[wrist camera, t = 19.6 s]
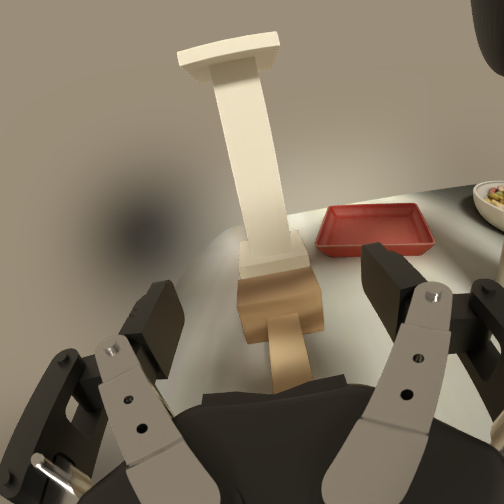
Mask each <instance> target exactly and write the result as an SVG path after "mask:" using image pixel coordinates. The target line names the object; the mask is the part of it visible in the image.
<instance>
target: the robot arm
mask: <svg viewBox="0 0 504 504" xmlns="http://www.w3.org/2000/svg"><path fill="white" fill-rule="evenodd" d="M471 7H472V15H473V22H474V27H475V32H476V36H477V40H478V44H479V47H480V50H481V52H482V55H483V57H484V59H485V61H486V62H487V64H488V65H489V66H490V67H491V69H492V70H493V71H494V72H496V73H497V74H499V75H501V76H503V77H504V0H471ZM361 279H362V286H363V289H364V292H365V294H366V295H367V297H368V299H369V300H370V302H371V304H372V306H373V307H374V309H375V311H376V312H377V314H378V316H379V318H380V319H381V321H382V323H383V325H384V326H385V328H386V330H387V332H388V334H389V335H390V337H391V339H392V341H393V343H394V345H393V348H392V350H391V353H390V355H389V358H388V360H387V363H386V365H385V368H384V370H383V372H382V375H381V377H380V379H379V382H378V384H377V386H376V388H375V387H372V386H368V385H362V384H347V383H346V380H345V376H344V374H342V375H337V376H333V377H328V378H323V379H318V380H313V381H308V382H306V383H303V384H301V385H298V386H296V387H293V388H290V389H288V390H285V391H282V392H279V393H277V394H272V395H268V394H256V393H245V392H226V393H213V394H203V398H202V404H201V405H198V406H195V407H192V408H190V409H187V410H185V411H183V412H182V413H180V414H178V415H177V416H175V415H174V414H173V412H172V411H171V409H170V408H169V406H168V404H167V403H166V401H165V400H164V398H163V397H162V395H161V393H160V392H159V390H158V388H157V387H156V385H155V382H156V379H168V376H169V372H170V369H171V366H172V362H173V359H174V355H175V352H176V349H177V345H178V342H179V339H180V336H181V332H182V329H183V326H184V321H185V318H184V312H183V309H182V306H181V303H180V301H179V298H178V296H177V293H176V291H175V288H174V285H173V283H172V282H171V281H170V280H165V281H160V282H154V283H152V285H151V287H150V288H149V290H148V292H147V294H146V295H144V296H143V297H142V298H141V299H140V300H139V301H137V302H136V304H135V306H134V307H133V309H132V311H131V313H130V314H129V317H128V318H127V320H126V322H125V323H124V325H123V327H122V329H121V330H120V332H119V334H118V335H114V336H111V337H108V338H106V339H105V340H103V341H102V342H101V343H100V344H99V345H98V346H97V348H96V350H95V354H94V355H90V356H87V357H83V358H81V356H80V355H79V353H78V352H77V350H75V349H72V348H70V349H66V350H63V351H61V352H60V353H58V354H57V355H56V356H55V357H54V358H53V360H52V361H51V363H50V365H49V366H48V368H47V370H46V371H45V373H44V375H43V376H42V378H41V380H40V382H39V384H38V385H37V387H36V389H35V391H34V393H33V395H32V397H31V398H30V401H29V402H28V404H27V406H26V408H25V410H24V412H23V414H22V416H21V418H20V420H19V422H18V424H17V426H16V428H15V431H14V433H13V435H12V437H11V440H10V442H9V444H8V446H7V449H6V451H5V454H4V456H3V458H2V461H1V464H0V495H1V496H3V497H4V498H6V499H7V500H9V501H11V502H12V503H14V504H504V240H503V246H502V252H501V258H500V263H499V267H498V272H497V276H496V281H493V280H490V279H479V280H476V281H475V282H474V283H473V284H472V287H471V291H470V293H465V294H452V291H451V290H450V288H449V287H447V286H446V285H444V284H442V283H439V282H428V281H427V280H426V279H425V278H424V277H423V276H422V275H421V274H420V273H419V272H418V271H417V270H416V269H415V268H413V266H412V265H411V264H410V263H408V261H407V260H406V259H405V258H404V257H403V256H402V255H401V254H398V253H396V252H394V251H388V250H387V249H386V248H385V247H384V246H383V245H382V244H381V243H380V242H374V243H369V244H364V245H362V246H361ZM492 334H493V335H494V336H495V338H496V339H497V340H498V342H499V344H500V346H501V355H500V353H499V352H498V350H497V349H496V347H495V346H494V345H493V343H492V342H491V340H490V338H491V336H492ZM455 353H457V355H458V357H459V358H460V360H461V362H462V363H463V365H464V367H465V369H466V370H467V372H468V374H469V376H470V378H471V379H472V381H473V383H474V385H475V387H476V389H477V391H478V392H479V394H480V396H481V398H482V400H483V402H484V404H485V406H486V408H487V410H488V413H489V415H490V417H491V419H492V421H493V425H492V427H491V433H490V435H491V443H490V444H488V443H486V442H484V441H481V440H479V439H477V438H475V437H473V436H471V435H468V434H466V433H464V432H462V431H460V430H458V429H456V428H454V427H452V426H450V425H448V424H446V423H444V422H442V421H440V420H438V419H436V418H434V413H435V410H436V406H437V402H438V398H439V394H440V390H441V386H442V382H443V377H444V372H445V367H446V362H447V356H448V354H455ZM71 395H72V396H73V397H74V399H75V400H76V401H77V402H78V403H79V405H78V407H77V410H76V412H75V415H74V417H73V420H72V422H71V423H70V422H69V420H68V419H67V418H66V414H65V410H66V406H67V404H68V402H69V399H70V397H71ZM108 419H109V421H110V424H111V427H112V429H113V432H114V435H115V437H116V440H117V442H118V444H119V447H120V450H121V452H122V454H123V457H124V459H125V461H124V462H122V463H121V464H120V465H119V466H118V467H116V468H115V469H114V470H113V471H112V472H110V473H109V474H108V475H106V476H105V477H104V478H103V479H102V480H100V481H99V482H98V483H96V484H95V485H94V486H93V485H92V481H91V477H92V474H93V470H94V466H95V463H96V459H97V455H98V452H99V448H100V445H101V441H102V438H103V434H104V431H105V428H106V425H107V422H108Z"/></svg>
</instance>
